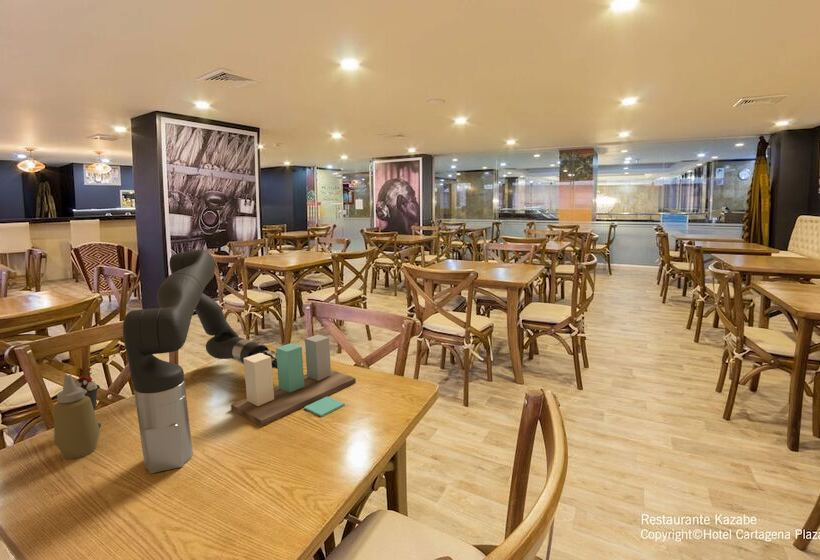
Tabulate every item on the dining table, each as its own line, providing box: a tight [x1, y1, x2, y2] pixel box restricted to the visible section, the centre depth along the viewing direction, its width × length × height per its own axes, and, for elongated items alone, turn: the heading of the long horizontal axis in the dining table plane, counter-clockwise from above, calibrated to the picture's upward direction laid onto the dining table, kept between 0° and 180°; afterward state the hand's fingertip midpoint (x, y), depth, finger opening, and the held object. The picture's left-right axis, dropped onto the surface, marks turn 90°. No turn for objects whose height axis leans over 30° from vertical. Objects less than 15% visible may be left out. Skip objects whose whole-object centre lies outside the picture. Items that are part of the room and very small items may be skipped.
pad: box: [303, 395, 346, 418], centre depth 118 cm, size 7×8×1 cm
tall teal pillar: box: [275, 342, 305, 393], centre depth 126 cm, size 5×5×12 cm
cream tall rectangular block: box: [243, 353, 274, 406], centre depth 118 cm, size 5×5×12 cm
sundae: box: [74, 367, 102, 429], centre depth 107 cm, size 7×7×15 cm
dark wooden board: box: [230, 369, 357, 427], centre depth 125 cm, size 14×32×2 cm, turn 141°
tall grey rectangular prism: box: [304, 334, 332, 381], centre depth 133 cm, size 5×5×12 cm
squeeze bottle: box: [52, 374, 101, 459], centre depth 97 cm, size 8×8×18 cm
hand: (284, 366), depth 127 cm, fingers closed
